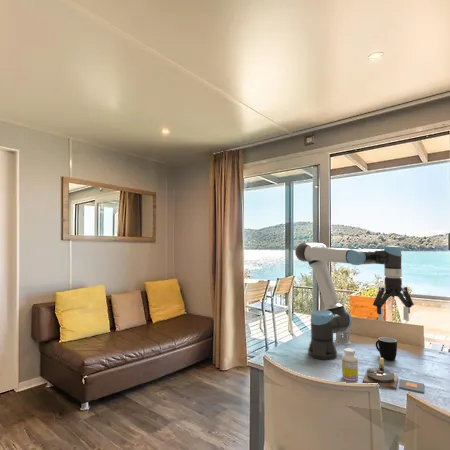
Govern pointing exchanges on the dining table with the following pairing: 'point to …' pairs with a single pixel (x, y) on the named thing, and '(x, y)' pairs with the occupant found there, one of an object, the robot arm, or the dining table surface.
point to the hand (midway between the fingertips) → (393, 320)
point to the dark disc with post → (380, 373)
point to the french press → (343, 339)
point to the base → (383, 384)
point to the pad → (411, 386)
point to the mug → (387, 348)
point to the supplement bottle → (350, 365)
